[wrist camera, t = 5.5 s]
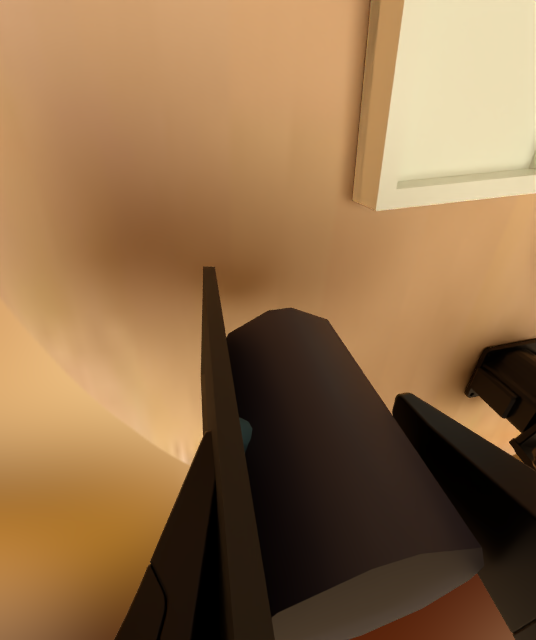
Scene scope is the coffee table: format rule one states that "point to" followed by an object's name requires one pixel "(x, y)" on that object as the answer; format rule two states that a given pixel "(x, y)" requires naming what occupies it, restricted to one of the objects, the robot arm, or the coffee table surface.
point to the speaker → (316, 487)
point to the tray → (447, 103)
